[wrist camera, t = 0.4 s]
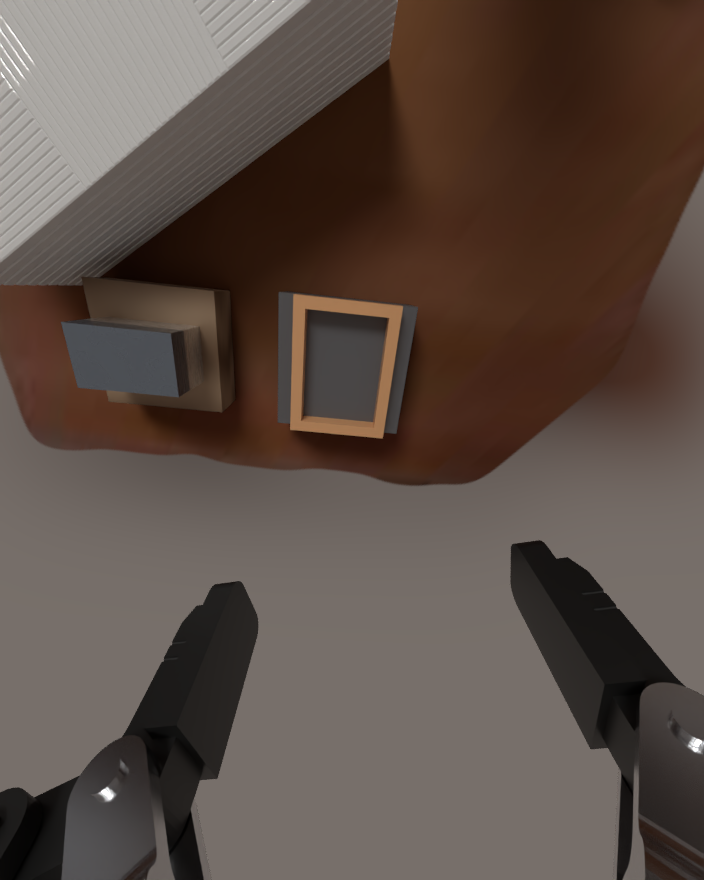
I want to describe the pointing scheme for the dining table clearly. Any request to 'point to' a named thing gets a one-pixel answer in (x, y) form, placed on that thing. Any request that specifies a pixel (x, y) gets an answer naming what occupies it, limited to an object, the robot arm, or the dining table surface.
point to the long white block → (153, 112)
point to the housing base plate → (190, 340)
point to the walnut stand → (177, 308)
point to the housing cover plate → (127, 357)
